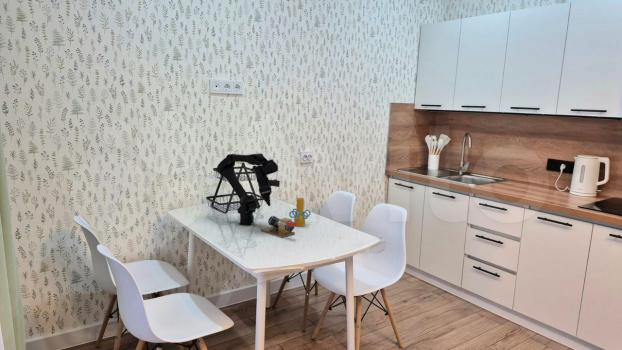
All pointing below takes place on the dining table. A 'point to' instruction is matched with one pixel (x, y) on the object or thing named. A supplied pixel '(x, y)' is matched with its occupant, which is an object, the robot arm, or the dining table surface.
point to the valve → (279, 227)
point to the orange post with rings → (299, 213)
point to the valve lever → (287, 223)
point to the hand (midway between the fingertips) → (269, 206)
